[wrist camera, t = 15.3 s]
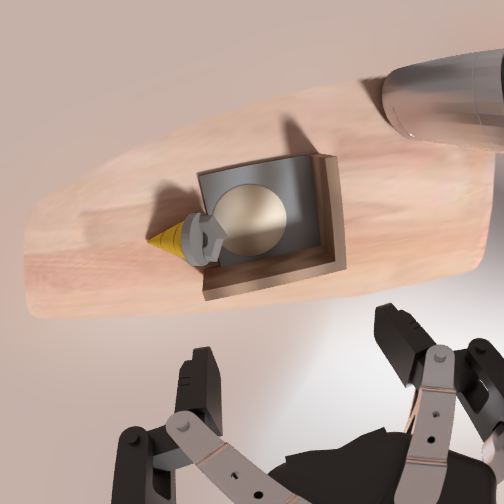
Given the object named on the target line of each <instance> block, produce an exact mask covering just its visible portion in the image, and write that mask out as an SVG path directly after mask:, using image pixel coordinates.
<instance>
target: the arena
mask: <svg viewBox="0 0 504 504" xmlns="http://www.w3.org/2000/svg"><path fill="white" fill-rule="evenodd" d="M199 179H200V183H201V188H202V192H203V196H204V200H205V205H206V209H207V213H208V215H214V217H215V218H216V220H217V221H218V223H219V224H220V225H221V227H222V228H223V230H224V231H225V233H226V234H227V235H228V237H229V238H224V239H223V243H222V246H221V250H220V253H219V261H220V265H221V266H219V267H214V268H210V269H205V270H204V278H203V290H202V292H203V295H204V298H205V301H209V300H214V299H219V298H224V297H229V296H233V295H238V294H243V293H247V292H252V291H256V290H261V289H265V288H270V287H274V286H279V285H283V284H287V283H292V282H296V281H300V280H304V279H308V278H313V277H317V276H321V275H325V274H329V273H333V272H337V271H341V270H345V269H347V268H346V247H345V232H344V218H343V207H342V196H341V187H340V178H339V169H338V161H337V157H336V156H331V155H325V154H320V153H318V154H311V155H305V156H298V157H292V158H286V159H280V160H274V161H268V162H263V163H258V164H252V165H247V166H242V167H237V168H232V169H228V170H223V171H219V172H214V173H210V174H205V175H201V176H199Z"/></svg>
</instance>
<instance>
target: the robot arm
mask: <svg viewBox="0 0 504 504" xmlns="http://www.w3.org/2000/svg"><path fill="white" fill-rule="evenodd" d="M382 103H383V107H384V111H385V113H386V116H387V118H388V120H389V122H390V123H391V125H392V126H393V127H394V128H395V130H396V131H397V132H399V133H400V134H401V135H402V136H404V137H406V138H408V139H412V140H420V141H429V142H436V143H443V144H451V145H457V146H464V147H470V148H475V149H481V150H486V151H491V152H496V153H501V154H504V49H496V50H488V51H481V52H474V53H468V54H462V55H456V56H451V57H446V58H441V59H436V60H431V61H427V62H422V63H418V64H414V65H410V66H406V67H402V68H399V69H396V70H394V71H392V72H391V73H390V74H389V75H388V76H387V78H386V79H385V81H384V84H383V88H382ZM374 337H375V340H376V342H377V344H378V345H379V347H380V348H381V350H382V352H383V353H384V355H385V356H386V358H387V359H388V361H389V362H390V364H391V365H392V367H393V368H394V370H395V372H396V373H397V375H398V376H399V378H400V380H401V381H402V383H403V384H404V386H405V388H407V387H409V386H411V385H414V386H415V388H416V389H415V392H414V396H413V401H412V405H411V410H410V414H409V418H408V422H407V425H406V428H405V431H404V433H402V432H386V430H385V428H384V427H383V428H380V429H378V430H375V431H373V432H370V433H367V434H364V435H361V436H360V437H358V438H357V439H355V440H353V441H351V442H350V443H348V444H346V445H344V446H343V447H341V448H339V449H333V450H315V451H307V452H303V453H299V454H294V455H290V456H286V457H285V459H286V463H283V464H281V465H279V466H278V467H276V468H274V469H273V470H272V471H270V472H269V473H268V474H266V473H264V472H263V471H262V470H261V469H259V468H258V467H257V466H256V465H254V464H253V463H252V462H251V461H249V460H248V459H247V458H246V457H244V456H243V455H242V454H241V453H240V452H238V451H237V450H236V449H235V448H234V447H233V446H231V445H230V444H229V443H227V442H226V443H225V442H224V441H222V440H221V439H220V438H219V437H218V436H222V435H223V432H222V407H221V406H222V405H221V377H220V372H219V368H218V366H217V363H216V361H215V358H214V356H213V353H212V350H211V348H210V347H202V348H196V349H194V350H193V358H192V360H188V361H185V362H184V363H183V365H182V367H181V368H180V372H179V380H178V388H177V396H176V404H175V405H176V406H175V412H174V414H173V415H172V416H171V417H170V418H169V419H168V420H167V422H166V424H165V425H164V426H161V427H159V428H156V429H153V430H150V431H146V430H145V429H144V428H142V427H138V426H134V427H130V428H128V429H126V430H125V431H123V432H122V434H121V436H120V438H119V442H118V449H117V457H116V463H115V471H114V480H113V490H112V500H111V504H176V486H175V485H176V484H175V469H178V468H181V467H184V466H187V465H190V464H193V463H194V464H195V465H196V466H197V467H198V468H199V469H200V470H201V471H202V472H203V473H204V474H205V475H206V476H207V477H208V478H209V480H210V481H212V483H214V484H215V485H216V486H217V487H218V488H219V489H220V490H221V491H222V492H223V493H224V494H225V495H226V496H227V497H228V498H229V499H231V500H232V501H233V502H234V503H235V504H496V487H497V484H499V483H500V482H502V481H503V480H504V358H503V357H502V356H501V355H500V353H499V352H498V351H497V350H496V349H495V348H494V346H493V345H492V344H491V343H490V342H489V341H487V340H486V339H482V338H476V339H473V340H472V341H471V342H470V343H469V346H468V348H467V349H462V350H456V351H452V349H451V348H449V347H448V346H445V345H437V344H436V343H435V342H434V341H433V339H432V338H431V337H430V336H429V335H428V334H427V332H426V331H425V330H424V329H423V328H422V327H421V326H420V324H419V323H418V322H416V320H415V319H414V318H413V317H412V315H411V314H409V313H407V312H405V311H404V310H399V311H398V310H397V309H396V308H395V306H394V305H393V304H392V303H388V304H385V305H382V306H378V307H376V310H375V322H374ZM480 380H481V381H482V382H483V383H482V382H481V381H480ZM483 384H484V385H485V386H486V388H487V389H488V391H487V389H486V388H485V386H484V385H483ZM456 396H457V397H458V399H459V400H460V402H461V404H462V406H463V407H464V409H465V411H466V412H467V414H468V416H469V417H470V419H471V421H472V422H473V424H474V426H475V428H476V430H477V431H478V433H479V435H480V437H481V439H482V440H483V442H484V444H483V447H482V460H483V461H480V460H477V459H474V458H471V457H468V456H465V455H462V454H459V453H457V452H454V451H451V450H449V445H450V439H451V433H452V426H453V419H454V410H455V401H456Z"/></svg>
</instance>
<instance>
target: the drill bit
mask: <svg viewBox="0 0 504 504" xmlns="http://www.w3.org/2000/svg"><path fill="white" fill-rule="evenodd" d="M224 238H229V237H228V235H227V234H226V233H225V231H224V230H223V228H222V227H221V225H220V224H219V223H218V221H217V220H216V218H215V217H214V215H206V214H205V213H203V212H198V213H191V214H189V215H188V216H187V217H186V218H185V220H184V221H182V222H181V223H179V224H177V225H175V226H173V227H171V228H169V229H168V230H166V231H164V232H162V233H160V234H158V235H157V236H155V237H153V238H151V239H149V240H148V241H147V242H148V243H149V244H151V245H154V246H156V247H158V248H162V249H163V250H165V251H168V252H170V253H172V254H175V255H177V256H179V257H182V258H184V259H186V260H187V262H188V263H189V264H190V265H192V266H205V265H207V264H208V263H209V262H217V260H218V257H219V253H220V250H221V246H222V243H223V239H224Z"/></svg>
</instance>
